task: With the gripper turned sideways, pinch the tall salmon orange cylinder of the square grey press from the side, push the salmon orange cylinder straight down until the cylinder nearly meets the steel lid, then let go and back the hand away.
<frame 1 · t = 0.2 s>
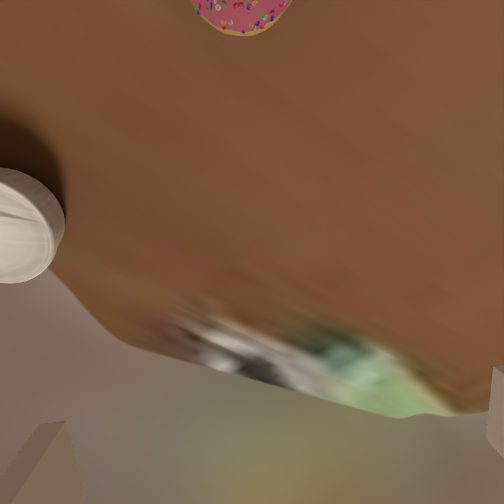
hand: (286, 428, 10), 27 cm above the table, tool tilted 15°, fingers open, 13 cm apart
ramekin: (20, 209, 34), on the table
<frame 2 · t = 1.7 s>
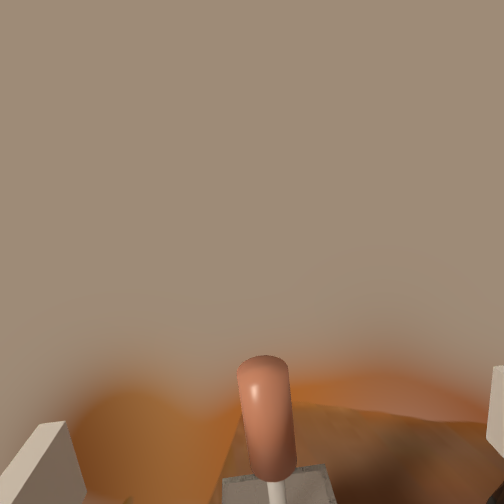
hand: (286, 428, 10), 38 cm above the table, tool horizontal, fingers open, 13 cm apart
salmon orange cylinder: (278, 499, 26), point 20 cm above the table, slide at 0.0 cm
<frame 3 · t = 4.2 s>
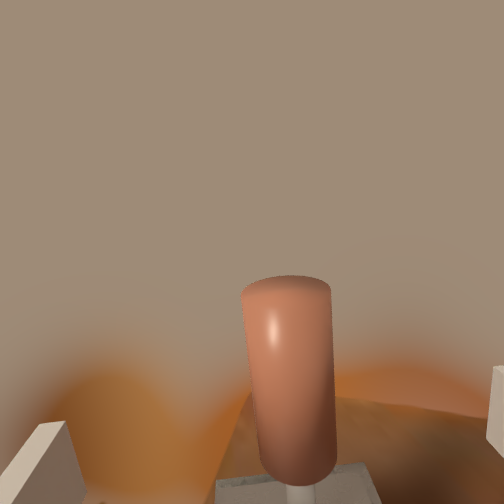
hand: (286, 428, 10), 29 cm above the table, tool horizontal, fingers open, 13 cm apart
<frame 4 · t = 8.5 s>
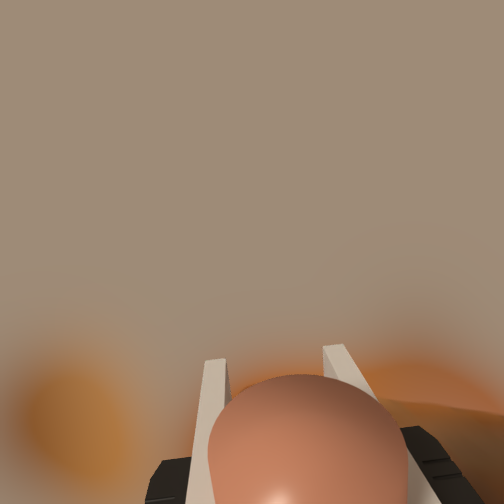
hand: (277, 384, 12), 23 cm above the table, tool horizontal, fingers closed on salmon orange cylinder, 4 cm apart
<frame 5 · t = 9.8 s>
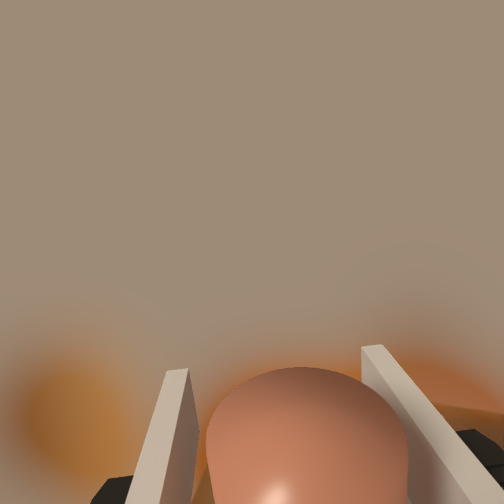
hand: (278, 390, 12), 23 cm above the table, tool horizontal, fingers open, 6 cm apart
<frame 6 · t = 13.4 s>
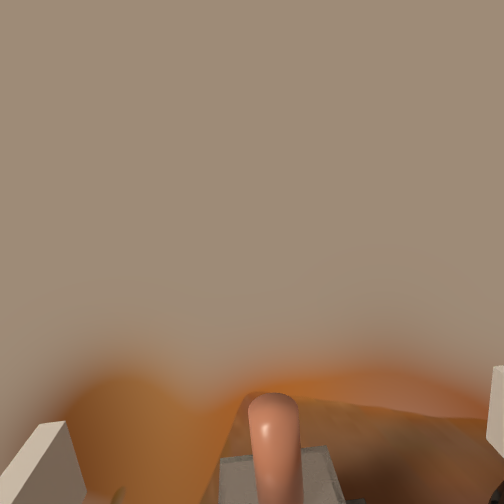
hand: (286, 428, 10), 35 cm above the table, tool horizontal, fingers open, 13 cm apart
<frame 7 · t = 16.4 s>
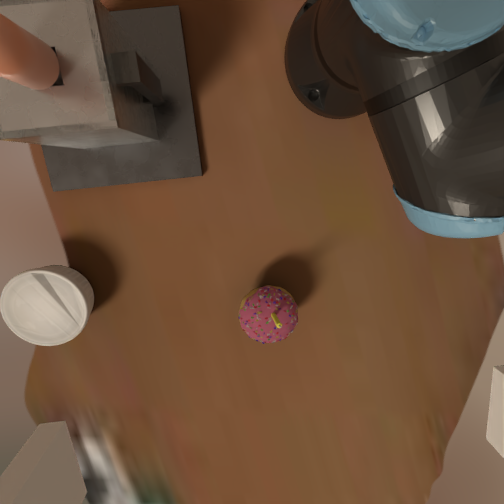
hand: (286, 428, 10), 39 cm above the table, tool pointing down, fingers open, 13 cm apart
cupcake: (265, 301, 51), on the table
ramekin: (63, 293, 49), on the table
salmon orange cylinder: (61, 77, 29), point 14 cm above the table, slide at 6.1 cm
press: (115, 105, 43), on the table
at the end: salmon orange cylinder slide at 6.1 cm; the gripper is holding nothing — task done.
